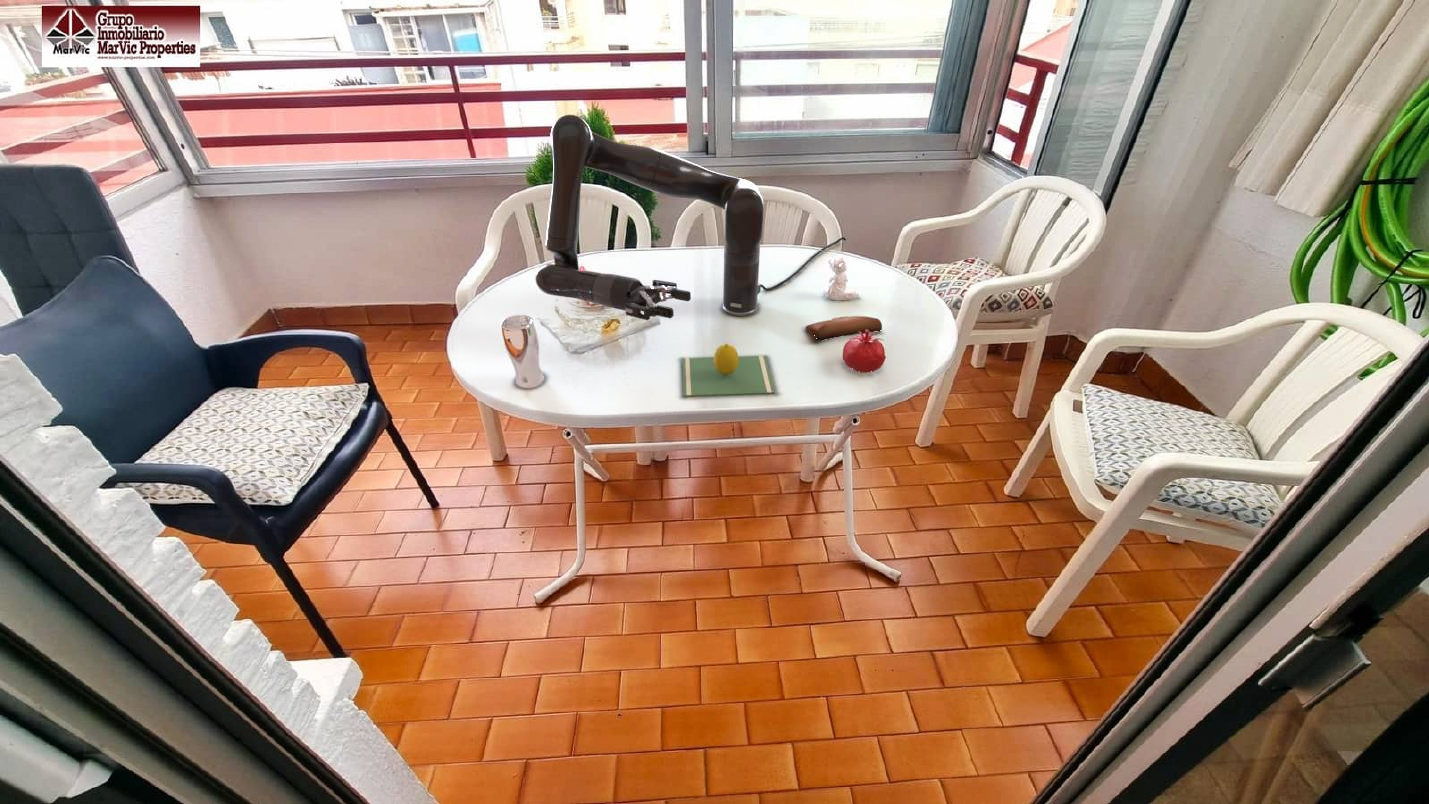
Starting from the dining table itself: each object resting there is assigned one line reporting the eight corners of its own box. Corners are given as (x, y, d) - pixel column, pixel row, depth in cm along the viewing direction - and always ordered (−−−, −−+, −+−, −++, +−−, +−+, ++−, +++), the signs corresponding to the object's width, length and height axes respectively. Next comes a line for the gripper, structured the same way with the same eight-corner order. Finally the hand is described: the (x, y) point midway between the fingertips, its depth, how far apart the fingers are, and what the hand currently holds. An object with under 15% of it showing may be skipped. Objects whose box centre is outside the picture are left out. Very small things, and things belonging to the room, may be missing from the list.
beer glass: (517, 372, 132) (503, 314, 123) (548, 371, 133) (536, 313, 124) (511, 390, 127) (496, 330, 118) (543, 388, 127) (530, 329, 118)
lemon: (735, 382, 129) (736, 352, 124) (711, 379, 130) (711, 349, 125) (739, 369, 133) (740, 339, 128) (716, 366, 134) (716, 336, 129)
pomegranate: (856, 382, 130) (863, 346, 124) (832, 360, 137) (837, 325, 132) (892, 372, 133) (900, 337, 128) (867, 351, 140) (873, 317, 135)
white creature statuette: (859, 298, 163) (866, 258, 156) (837, 306, 159) (843, 265, 152) (836, 286, 169) (842, 247, 162) (814, 294, 165) (819, 254, 158)
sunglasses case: (865, 317, 153) (875, 303, 147) (874, 340, 151) (885, 327, 145) (803, 326, 149) (810, 312, 143) (811, 350, 147) (819, 337, 141)
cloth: (682, 359, 137) (682, 358, 137) (765, 357, 138) (765, 355, 138) (683, 396, 125) (683, 395, 125) (774, 393, 126) (774, 392, 126)
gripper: (598, 289, 124) (665, 303, 118) (631, 264, 134) (694, 276, 129) (602, 320, 128) (667, 334, 123) (634, 294, 138) (695, 306, 133)
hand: (681, 304), depth 126 cm, fingers open, 8 cm apart
